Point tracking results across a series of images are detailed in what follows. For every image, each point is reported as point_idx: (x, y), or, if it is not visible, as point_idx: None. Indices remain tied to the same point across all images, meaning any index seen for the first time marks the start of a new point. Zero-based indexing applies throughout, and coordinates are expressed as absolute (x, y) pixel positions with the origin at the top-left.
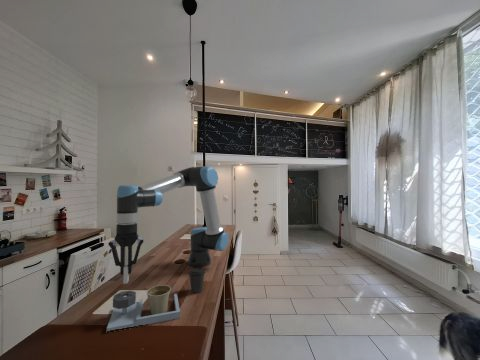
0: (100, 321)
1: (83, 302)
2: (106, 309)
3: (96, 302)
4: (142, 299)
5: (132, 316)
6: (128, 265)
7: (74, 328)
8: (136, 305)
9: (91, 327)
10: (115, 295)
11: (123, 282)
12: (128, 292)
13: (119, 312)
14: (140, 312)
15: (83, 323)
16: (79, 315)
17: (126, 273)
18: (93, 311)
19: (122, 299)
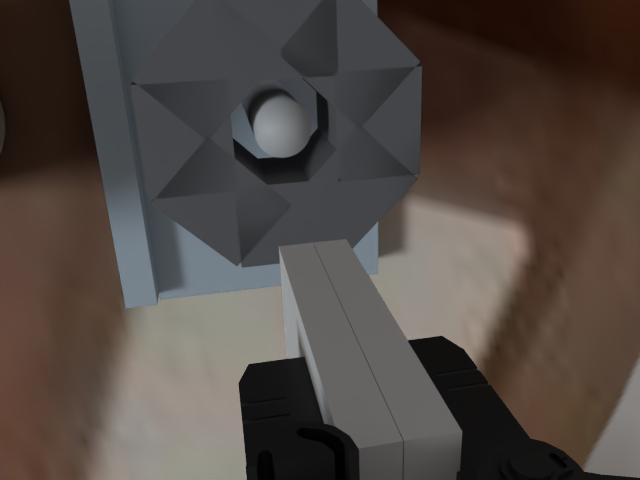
0: (450, 84)
1: (612, 405)
2: (436, 270)
3: (526, 390)
4: (125, 299)
5: (163, 8)
6: (331, 452)
7: (622, 33)
8: (173, 227)
9: (504, 4)
10: (405, 160)
11: (350, 248)
12: (251, 210)
13: (313, 132)
14: (73, 10)
15: (571, 92)
16: (614, 224)
17: (336, 334)
18: (527, 261)
19: (290, 2)
